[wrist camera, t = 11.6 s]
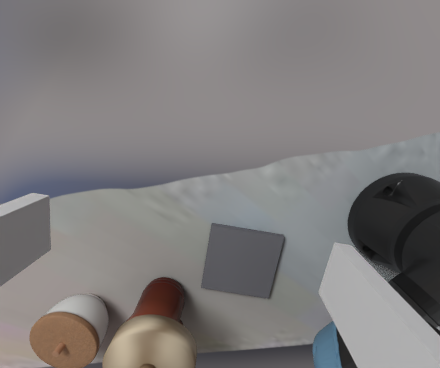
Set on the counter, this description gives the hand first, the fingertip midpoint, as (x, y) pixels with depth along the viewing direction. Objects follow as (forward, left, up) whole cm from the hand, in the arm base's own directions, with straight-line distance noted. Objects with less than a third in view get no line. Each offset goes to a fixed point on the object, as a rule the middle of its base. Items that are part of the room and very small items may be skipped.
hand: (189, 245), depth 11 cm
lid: (+4, +27, -16) cm, 32 cm away
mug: (+4, +27, -27) cm, 38 cm away
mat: (-7, +17, -27) cm, 32 cm away
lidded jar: (+19, +32, -27) cm, 46 cm away
